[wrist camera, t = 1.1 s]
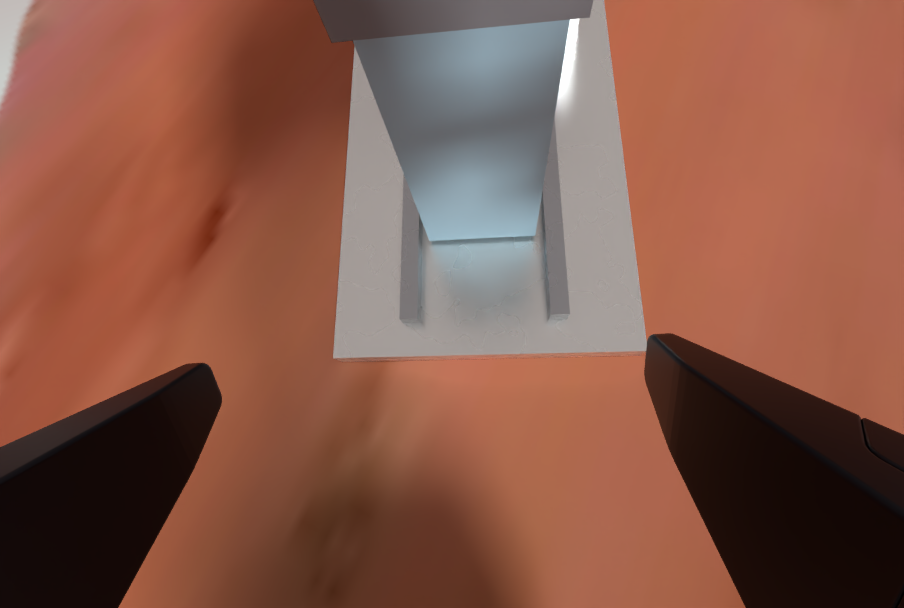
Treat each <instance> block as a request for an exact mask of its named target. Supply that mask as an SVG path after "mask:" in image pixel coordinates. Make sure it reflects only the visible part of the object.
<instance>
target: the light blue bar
mask: <svg viewBox="0 0 904 608" xmlns="http://www.w3.org/2000/svg"><path fill="white" fill-rule="evenodd" d="M313 1H314V3H315V6H316V8H317V10H318V13H319V15H320V17H321V19H322V22H323V24H324V26H325V28H326V31H327V33H328V35H329V38H330V40H331V42H332V43H334V42H344V41H353V43H354V45H355V48H356V51H357V53H358V56H359V58H360V61H361V64H362V66H363V69H364V71H365V74H366V77H367V79H368V82H369V84H370V87H371V90H372V92H373V95H374V98H375V100H376V103H377V105H378V108H379V111H380V113H381V116H382V118H383V121H384V124H385V126H386V129H387V131H388V134H389V137H390V139H391V142H392V144H393V147H394V150H395V152H396V155H397V157H398V160H399V163H400V165H401V168H402V171H403V173H404V176H405V178H406V181H407V184H408V186H409V189H410V191H411V194H412V197H413V199H414V202H415V204H416V207H417V210H418V212H419V215H420V217H421V220H422V223H423V225H424V228H425V231H426V233H427V236H428V238H429V241H437V240H458V239H478V238H498V237H519V236H535V234H536V228H537V221H538V215H539V209H540V203H541V197H542V191H543V184H544V178H545V172H546V166H547V160H548V154H549V147H550V141H551V135H552V129H553V123H554V117H555V110H556V104H557V98H558V92H559V86H560V79H561V73H562V67H563V61H564V55H565V49H566V42H567V36H568V30H569V24H570V20H571V19H581V18H590V14H591V9H592V4H593V0H313Z"/></svg>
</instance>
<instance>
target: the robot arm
mask: <svg viewBox="0 0 904 608" xmlns="http://www.w3.org/2000/svg"><path fill="white" fill-rule="evenodd" d="M644 375H645V381H646V385H647V388H648V391H649V394H650V396H651V399H652V402H653V405H654V408H655V411H656V414H657V417H658V420H659V423H660V426H661V428H662V431H663V434H664V437H665V440H666V443H667V445H668V448H669V450H670V453H671V455H672V457H673V459H674V462H675V464H676V466H677V468H678V470H679V472H680V474H681V476H682V478H683V480H684V482H685V484H686V486H687V488H688V490H689V492H690V494H691V496H692V498H693V501H694V503H695V505H696V507H697V509H698V511H699V513H700V515H701V517H702V519H703V521H704V523H705V525H706V527H707V529H708V531H709V533H710V535H711V537H712V539H713V542H714V544H715V546H716V548H717V550H718V552H719V554H720V556H721V558H722V560H723V562H724V564H725V566H726V568H727V570H728V572H729V574H730V576H731V578H732V581H733V583H734V585H735V587H736V589H737V591H738V593H739V595H740V597H741V599H742V601H743V603H744V605H745V607H746V608H904V435H903V434H901V433H898V432H896V431H894V430H891V429H889V428H887V427H885V426H882V425H880V424H878V423H876V422H873V421H871V420H869V419H866V418H863V419H861V418H860V416H859V415H857V414H855V413H852V412H850V411H848V410H846V409H843V408H841V407H839V406H837V405H834V404H832V403H830V402H827V401H825V400H823V399H821V398H818V397H816V396H814V395H811V394H809V393H807V392H805V391H802V390H800V389H798V388H795V387H793V386H791V385H789V384H786V383H784V382H782V381H779V380H777V379H775V378H773V377H770V376H768V375H766V374H763V373H761V372H759V371H757V370H754V369H752V368H750V367H747V366H745V365H743V364H741V363H738V362H736V361H734V360H731V359H729V358H727V357H725V356H722V355H720V354H718V353H716V352H713V351H711V350H709V349H706V348H704V347H702V346H700V345H697V344H695V343H693V342H690V341H688V340H686V339H684V338H681V337H679V336H677V335H674V334H670V333H667V334H653V335H651V336H650V337H649V338H648V341H647V348H646V359H645V370H644ZM221 403H222V396H221V392H220V390H219V387H218V385H217V382H216V380H215V377H214V375H213V372H212V370H211V368H210V367H209V365H207V364H205V363H192V364H185V365H183V366H180V367H178V368H176V369H174V370H171V371H169V372H167V373H165V374H163V375H160V376H158V377H156V378H154V379H151V380H149V381H147V382H145V383H142V384H140V385H138V386H136V387H134V388H131V389H129V390H127V391H125V392H122V393H120V394H118V395H116V396H114V397H111V398H109V399H107V400H105V401H102V402H100V403H98V404H96V405H93V406H91V407H89V408H87V409H85V410H82V411H80V412H78V413H76V414H73V415H71V416H69V417H67V418H64V419H62V420H60V421H58V422H56V423H53V424H51V425H49V426H47V427H44V428H42V429H40V430H38V431H36V432H33V433H31V434H29V435H27V436H24V437H22V438H20V439H18V440H15V441H13V442H11V443H9V444H7V445H4V446H2V447H0V608H118V607H119V605H120V603H121V602H122V600H123V598H124V596H125V594H126V593H127V591H128V589H129V587H130V585H131V583H132V582H133V580H134V578H135V576H136V574H137V572H138V571H139V569H140V567H141V565H142V563H143V561H144V560H145V558H146V556H147V554H148V552H149V551H150V549H151V547H152V545H153V543H154V541H155V540H156V538H157V536H158V534H159V532H160V530H161V529H162V527H163V525H164V523H165V521H166V520H167V518H168V516H169V514H170V512H171V510H172V509H173V507H174V505H175V503H176V501H177V499H178V498H179V496H180V494H181V492H182V490H183V488H184V487H185V485H186V483H187V481H188V479H189V477H190V475H191V474H192V472H193V470H194V468H195V465H196V463H197V461H198V459H199V456H200V454H201V452H202V449H203V447H204V445H205V442H206V440H207V438H208V435H209V433H210V431H211V428H212V426H213V424H214V421H215V419H216V417H217V414H218V412H219V409H220V407H221Z"/></svg>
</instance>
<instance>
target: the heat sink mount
mask: <svg viewBox="0 0 904 608" xmlns="http://www.w3.org/2000/svg"><path fill="white" fill-rule="evenodd" d="M646 348H647V341H646V333H645V325H644V317H643V309H642V301H641V293H640V285H639V277H638V269H637V261H636V253H635V245H634V237H633V229H632V221H631V213H630V205H629V197H628V189H627V181H626V173H625V165H624V157H623V149H622V141H621V133H620V125H619V117H618V109H617V101H616V93H615V85H614V77H613V69H612V61H611V53H610V45H609V37H608V29H607V21H606V13H605V5H604V0H593V4H592V9H591V14H590V18H581V19H571V20H570V24H569V30H568V36H567V42H566V49H565V55H564V61H563V67H562V73H561V79H560V86H559V92H558V98H557V104H556V110H555V117H554V123H553V129H552V135H551V141H550V147H549V154H548V160H547V166H546V172H545V178H544V184H543V191H542V197H541V203H540V209H539V215H538V221H537V228H536V234H535V236H519V237H498V238H478V239H458V240H437V241H429V238H428V236H427V233H426V231H425V228H424V225H423V223H422V220H421V217H420V215H419V212H418V210H417V207H416V204H415V202H414V199H413V197H412V194H411V191H410V189H409V186H408V184H407V181H406V178H405V176H404V173H403V171H402V168H401V165H400V163H399V160H398V157H397V155H396V152H395V150H394V147H393V144H392V142H391V139H390V137H389V134H388V131H387V129H386V126H385V124H384V121H383V118H382V116H381V113H380V111H379V108H378V105H377V103H376V100H375V98H374V95H373V92H372V90H371V87H370V84H369V82H368V79H367V77H366V74H365V71H364V69H363V66H362V64H361V61H360V58H359V56H358V53H357V51H356V48H355V47H354V61H353V76H352V90H351V105H350V120H349V134H348V149H347V163H346V178H345V192H344V207H343V221H342V236H341V251H340V265H339V280H338V294H337V309H336V323H335V338H334V352H333V358H334V359H336V360H339V361H341V362H365V361H411V360H458V359H504V358H551V357H598V356H640V355H642V354H643V353H645V352H646Z"/></svg>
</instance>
